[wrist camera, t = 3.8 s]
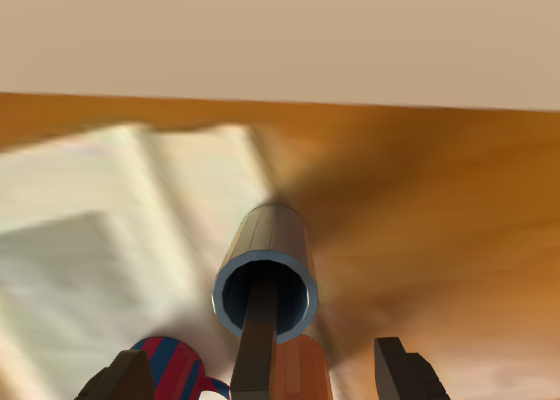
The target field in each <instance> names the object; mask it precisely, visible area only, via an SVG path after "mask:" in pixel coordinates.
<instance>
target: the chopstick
mask: <svg viewBox="0 0 560 400" xmlns="http://www.w3.org/2000/svg"><path fill="white" fill-rule="evenodd" d="M280 275H281V263H279V262H276V261H273V260H258V262H257V266H256V271H255V275H254V280H253V284H252V288H251V293H250V297H249V302H248V306H247V311H246V315H245V320H244V324H243V329H242V333H241V338H240V342H239V347H238V351H237V356H236V360H235V365H234V369H233V373H232V378H231V382H230V387H229V395H230V400H274V383H275V365H276V347H277V329H278V311H279V293H280Z"/></svg>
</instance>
